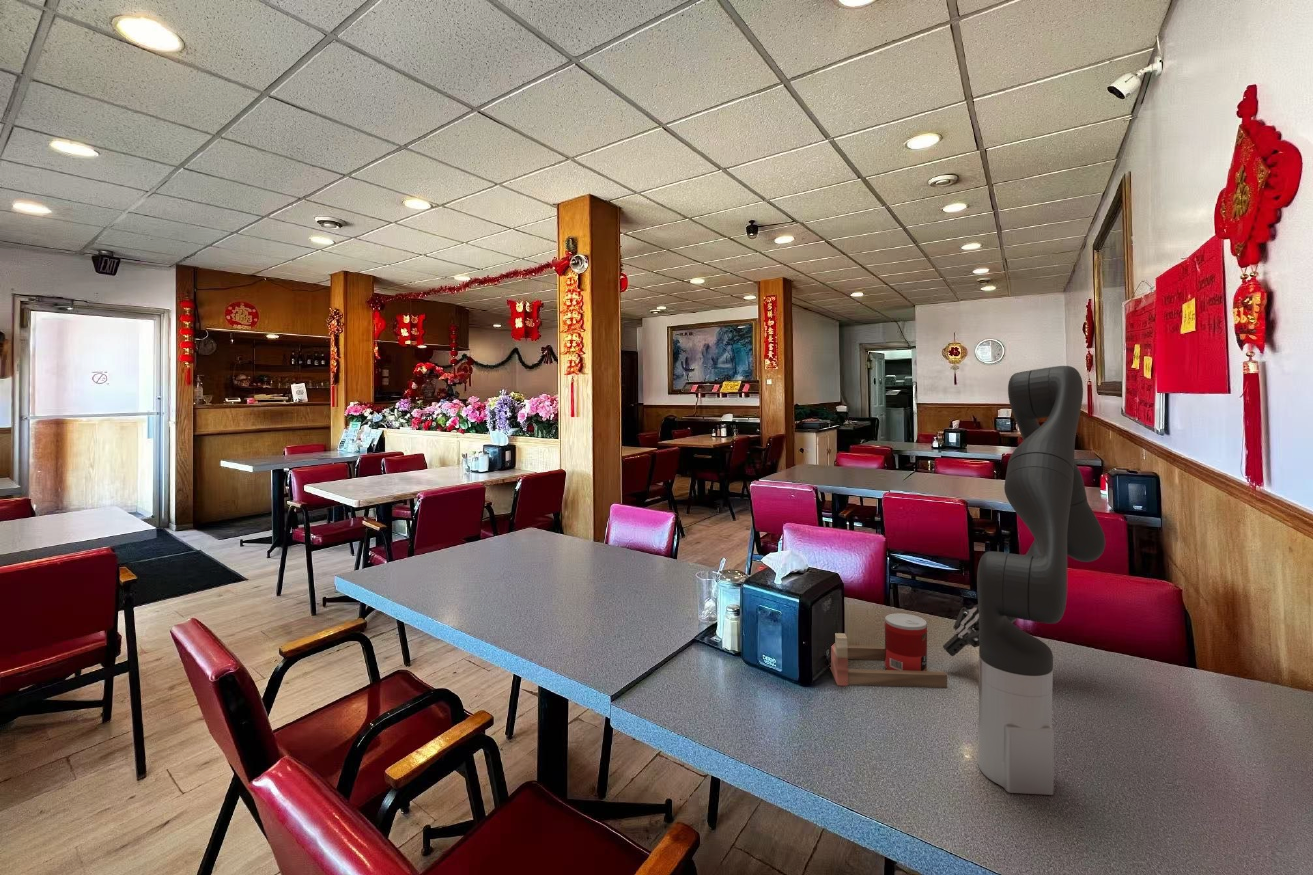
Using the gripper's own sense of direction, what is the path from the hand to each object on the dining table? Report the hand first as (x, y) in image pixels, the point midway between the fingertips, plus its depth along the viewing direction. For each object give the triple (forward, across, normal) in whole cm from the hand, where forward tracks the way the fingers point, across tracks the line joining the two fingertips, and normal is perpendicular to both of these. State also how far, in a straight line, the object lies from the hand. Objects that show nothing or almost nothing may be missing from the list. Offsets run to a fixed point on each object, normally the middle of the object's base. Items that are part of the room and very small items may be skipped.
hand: (947, 651), depth 115 cm
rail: (+12, 0, -6) cm, 14 cm away
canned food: (+9, 0, -3) cm, 9 cm away
